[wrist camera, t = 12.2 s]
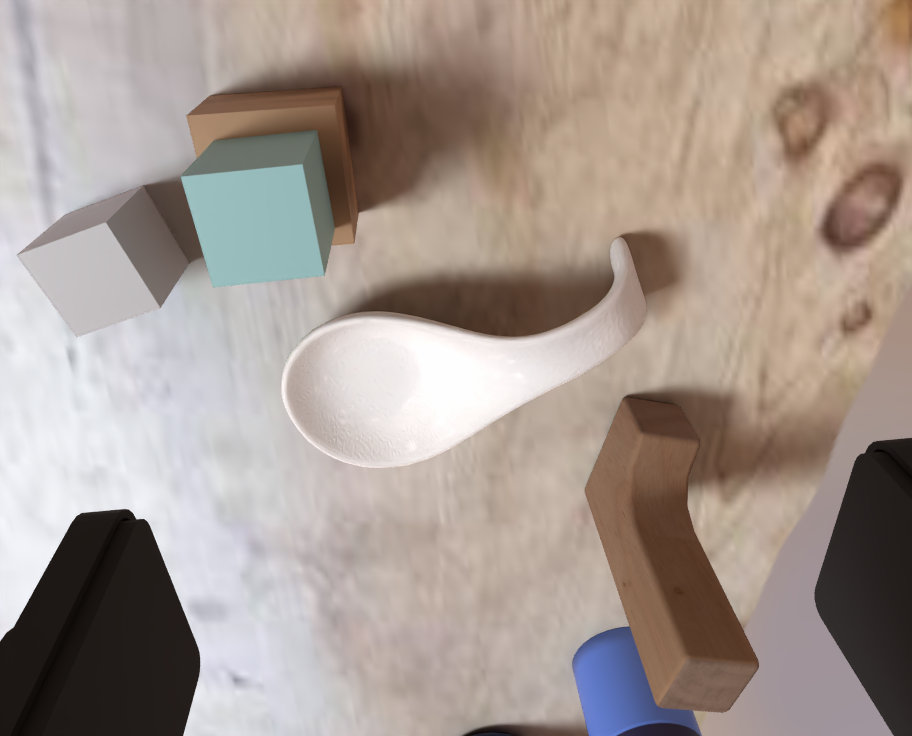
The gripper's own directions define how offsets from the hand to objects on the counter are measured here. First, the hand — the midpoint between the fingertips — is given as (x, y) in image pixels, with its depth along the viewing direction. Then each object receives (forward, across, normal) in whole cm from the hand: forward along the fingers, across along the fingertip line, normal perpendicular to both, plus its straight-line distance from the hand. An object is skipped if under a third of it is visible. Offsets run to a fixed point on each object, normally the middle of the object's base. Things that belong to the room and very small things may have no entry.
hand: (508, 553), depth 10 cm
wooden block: (+34, -13, +26) cm, 44 cm away
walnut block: (+34, +8, +3) cm, 35 cm away
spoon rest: (+34, -1, +15) cm, 37 cm away
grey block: (+33, +18, +7) cm, 39 cm away
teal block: (+28, +8, +3) cm, 30 cm away
